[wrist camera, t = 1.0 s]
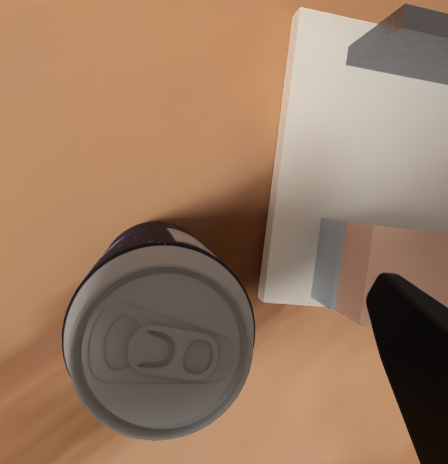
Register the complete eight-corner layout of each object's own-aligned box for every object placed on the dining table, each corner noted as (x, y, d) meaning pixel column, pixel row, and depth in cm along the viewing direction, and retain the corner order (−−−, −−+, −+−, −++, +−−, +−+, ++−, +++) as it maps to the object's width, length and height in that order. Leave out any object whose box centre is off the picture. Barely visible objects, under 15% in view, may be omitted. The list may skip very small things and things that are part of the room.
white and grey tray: (515, 316, 27) (608, 346, 22) (257, 297, 24) (290, 327, 18) (555, 73, 26) (664, 41, 21) (292, 16, 23) (338, -41, 17)
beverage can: (116, 209, 22) (78, 225, 10) (216, 233, 23) (289, 271, 11) (92, 311, 22) (29, 442, 10) (193, 329, 23) (239, 466, 11)
